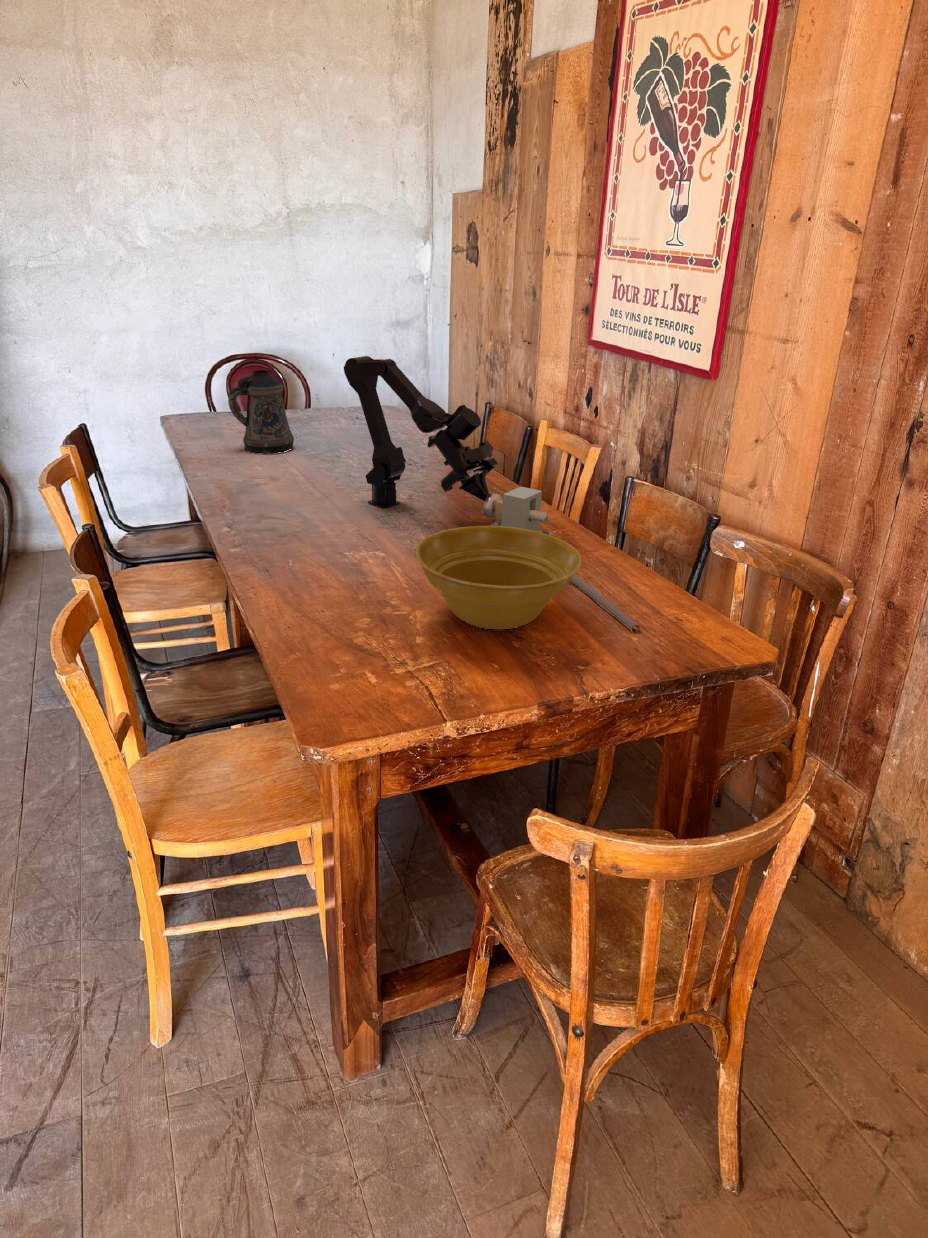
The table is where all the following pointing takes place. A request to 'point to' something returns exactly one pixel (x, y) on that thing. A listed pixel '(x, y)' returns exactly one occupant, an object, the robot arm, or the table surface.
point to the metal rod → (603, 602)
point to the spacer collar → (498, 511)
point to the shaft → (493, 498)
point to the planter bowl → (497, 572)
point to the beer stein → (262, 413)
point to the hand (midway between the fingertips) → (488, 501)
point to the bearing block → (521, 509)
